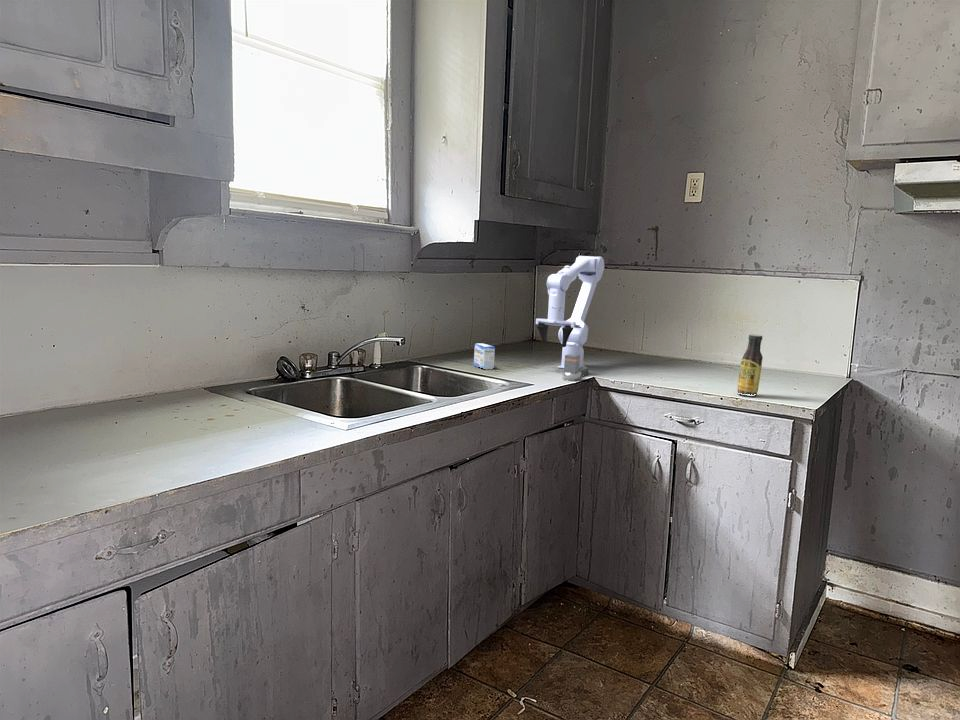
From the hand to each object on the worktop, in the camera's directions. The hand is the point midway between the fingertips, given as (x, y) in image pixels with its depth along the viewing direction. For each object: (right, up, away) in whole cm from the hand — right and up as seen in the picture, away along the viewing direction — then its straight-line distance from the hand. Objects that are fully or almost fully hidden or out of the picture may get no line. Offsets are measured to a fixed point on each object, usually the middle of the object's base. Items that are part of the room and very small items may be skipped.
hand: (554, 345), depth 239 cm
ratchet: (+7, -11, -5) cm, 14 cm away
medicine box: (-25, -8, +5) cm, 27 cm away
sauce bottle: (+60, -17, -24) cm, 67 cm away
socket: (+5, -9, -10) cm, 15 cm away
